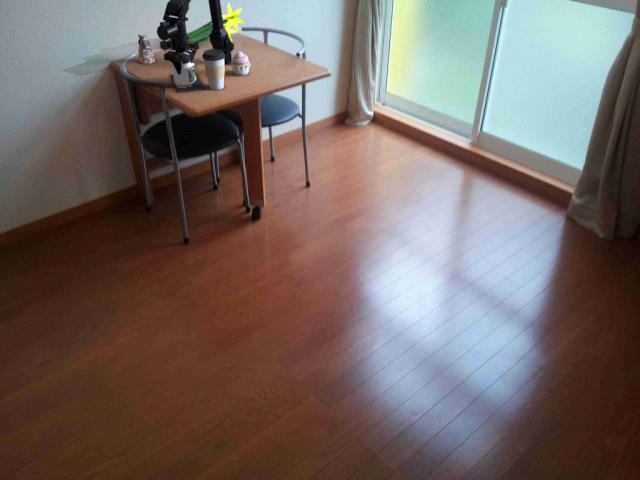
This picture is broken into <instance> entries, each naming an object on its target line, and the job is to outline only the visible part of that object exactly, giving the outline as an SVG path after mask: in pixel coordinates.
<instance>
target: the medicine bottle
mask: <svg viewBox="0 0 640 480" xmlns="http://www.w3.org/2000/svg"><path fill="white" fill-rule="evenodd" d="M181 59H183V63H182V70H181V74H180V75H179V74H178V73H177V71H176V69H175V67H174V66H173V67H172V75H174V81H173V83H174V82H175V83H174V85H175V84H183V83H191V84H192V83H193V82H194V81H195V80H196V73H197V72H196V66H195V63H193V62H192V63H190V55H189V54H188V53H183V54H181ZM195 72H196V73H195Z"/></svg>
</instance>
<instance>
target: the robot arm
mask: <svg viewBox="0 0 640 480" xmlns="http://www.w3.org/2000/svg"><path fill="white" fill-rule="evenodd" d="M207 1H208V6H209V14H210V21H212V27H213V29H212V31H211V33H209V37H210V41H209V43H210V44H211V47H212V49H219V50H222V51H223V53H224V54H225V58H224V63H225V66H227V65H230V64H231V63H230V62H232V59H233V58H232V52H233V51H234V49H235V44H234V42H233V43H232V42H231V40H230V39H229V35H228V32H227V31H226V30H225V28H224V24H223V20H224V18H223V17H222V15H223V12H222V6H221V5H222V4H221V0H207ZM191 2H192V0H169V1H168V2H167V3H166V6H165V10H164V13H163V17H162V21H160V22H159V25H158V26H157V28H156V34H157V37H158V38H159V40H161V41H159V48H160V49H161V50H163V51H164V54H163V60H164V61H165V62H170V63H171V64H172V65H173V67H175V69H176V71H177V73H178V74H179V75H180V74H181V70H182V63H183V59H181V54H183V53H188V54H189V55H190V63H193V61H194V58H195V56H196V54H197V52H198V50H200V45H199V44H198V43H197V42H192V41H188V40H187V39H189V36H188V35H187V33H188V32H187V24H186V22H188V21H189V18H188V17H187V16H186V15H187V14H188V12H189V10H190V3H191ZM168 50H169V51H168ZM165 51H167V52H165Z"/></svg>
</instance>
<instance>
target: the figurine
mask: <svg viewBox="0 0 640 480" xmlns="http://www.w3.org/2000/svg"><path fill="white" fill-rule="evenodd" d="M137 37H138V38H139V39H138V40H137V42H138V51H137V57H138V62H139V63H140V64H142V65H144V64H145V65H147V64H152V63H155V61H156V59H155V55H154V52H153V48H152V47H153V45H152V44H151V42H150V39H149V37H148V36H147V35H145V34H142V35H141V34H140V33H139V34H137Z"/></svg>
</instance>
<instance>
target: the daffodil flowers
mask: <svg viewBox="0 0 640 480" xmlns="http://www.w3.org/2000/svg"><path fill="white" fill-rule="evenodd" d="M242 10H243V7H239V8H237V9H236V10H234V11H233V9H232V7H231V4H230V2H227V13H228V14H222V18H223V25H224V28H225V30H226V31H227V32H228V35H229V39H230V40H231V42H232V43H233V44H234V42H233V37H232V36H231V34H234V33H237V32H239V31H240V29H239V25H238V24H246V21H245V20H243V19H242V18H240V17H238V16H239V15H240V14H241V12H242ZM231 26H233V28H234V29H233V28H231ZM212 29H213V27H212V21H211V20H210V21H208V22H207V23H205V24H203V25H201V26H200V27H198V28H196V29H194V30H192V31H190V32H187V35H188V36H189V39H187V40H188V41H192V42H197V43H198V44H199V46H200V45H201V44H204V43H205V42H210V37H209V33H211V31H212Z"/></svg>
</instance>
